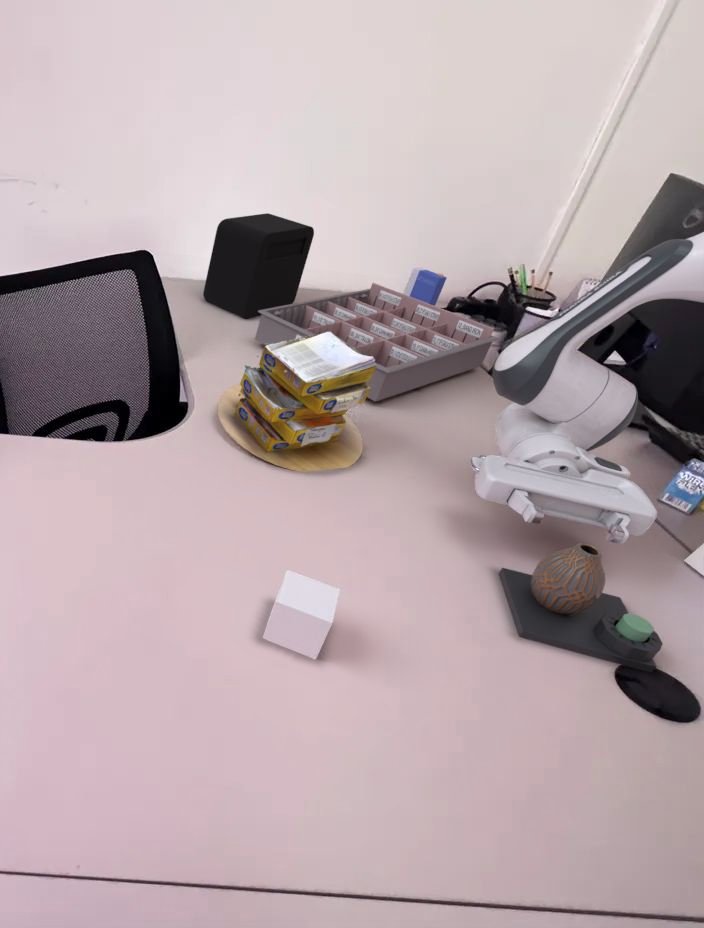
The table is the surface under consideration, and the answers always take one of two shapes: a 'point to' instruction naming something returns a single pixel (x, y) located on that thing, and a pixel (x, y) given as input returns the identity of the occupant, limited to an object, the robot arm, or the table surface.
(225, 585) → the table surface
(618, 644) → the scale
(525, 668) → the table surface
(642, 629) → the button
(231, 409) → the stacked yellow boxes
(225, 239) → the air purifier
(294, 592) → the white cube
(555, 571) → the vase
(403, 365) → the organizer tray
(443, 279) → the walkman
